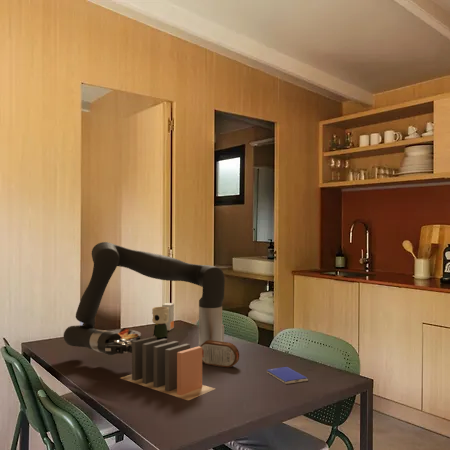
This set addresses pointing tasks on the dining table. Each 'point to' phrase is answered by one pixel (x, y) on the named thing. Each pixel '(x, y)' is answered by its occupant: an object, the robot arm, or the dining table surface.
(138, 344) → the domino
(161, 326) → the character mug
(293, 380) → the blue notebook
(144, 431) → the dining table surface
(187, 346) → the domino
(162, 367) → the domino
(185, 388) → the domino
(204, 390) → the board
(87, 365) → the dining table surface
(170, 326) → the skincare box
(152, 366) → the domino
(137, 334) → the food plate
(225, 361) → the tin
